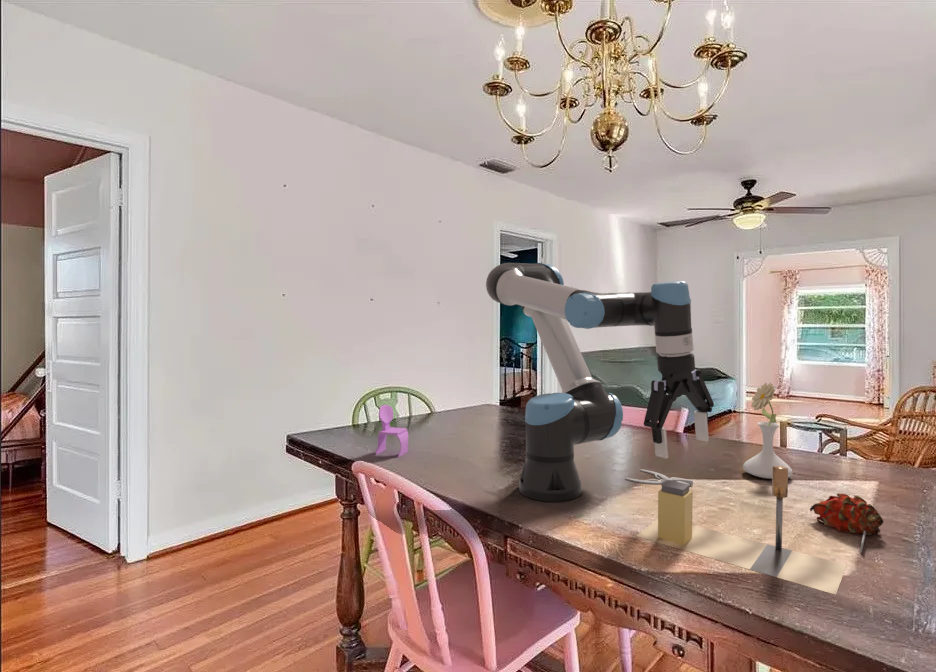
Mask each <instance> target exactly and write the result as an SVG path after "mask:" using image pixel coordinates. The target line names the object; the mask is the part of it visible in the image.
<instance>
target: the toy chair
mask: <svg viewBox="0 0 936 672" xmlns="http://www.w3.org/2000/svg"><path fill="white" fill-rule="evenodd" d="M378 418H379V420H380V423H381V427H382V430H380V431H378V435H377V446H376V451H375V453H374V455H375V456H377V455H378V454H380V453H382V452H384V451H386V448H387V447H386V445H387V443H386V442H387V438H388V436H392V437H393V436H394V437H396V438H397V439H398V441H399V443H400V448H399V452H398V455H397V458H400V457H402V456H404V455H405V454H407V453H408V452H409V432H408V428H406V427H393V426H391V425H390V423H391V421H392V420H394V409H393V408H392V406H391V405H388V404H384V405H381V406H380V407H379V410H378Z"/></svg>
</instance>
